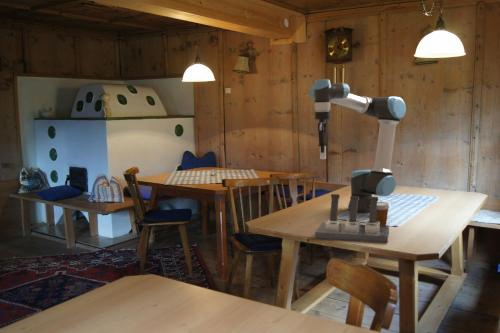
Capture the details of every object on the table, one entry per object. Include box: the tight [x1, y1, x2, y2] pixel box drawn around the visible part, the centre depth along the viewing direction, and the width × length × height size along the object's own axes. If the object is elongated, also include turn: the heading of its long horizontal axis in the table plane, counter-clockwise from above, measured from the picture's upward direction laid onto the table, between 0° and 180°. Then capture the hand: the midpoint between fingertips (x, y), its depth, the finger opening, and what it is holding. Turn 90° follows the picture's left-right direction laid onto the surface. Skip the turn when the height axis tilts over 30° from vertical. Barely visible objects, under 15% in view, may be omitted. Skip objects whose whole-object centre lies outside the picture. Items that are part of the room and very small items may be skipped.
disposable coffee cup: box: [376, 201, 390, 226], centre depth 235 cm, size 10×10×12 cm
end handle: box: [368, 196, 379, 223], centre depth 222 cm, size 2×4×13 cm
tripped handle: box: [329, 193, 340, 221], centre depth 227 cm, size 2×4×13 cm, turn 72°
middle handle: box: [348, 195, 359, 222], centre depth 225 cm, size 2×4×13 cm
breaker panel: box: [314, 218, 390, 244], centre depth 223 cm, size 18×32×6 cm, turn 71°
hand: (322, 158), depth 236 cm, fingers closed
